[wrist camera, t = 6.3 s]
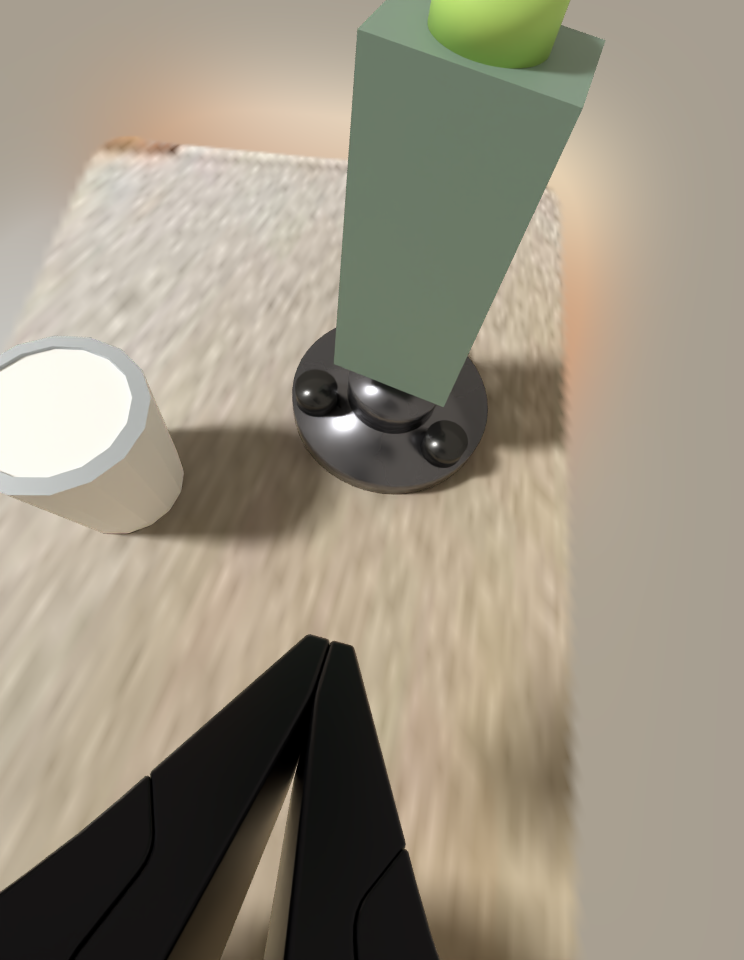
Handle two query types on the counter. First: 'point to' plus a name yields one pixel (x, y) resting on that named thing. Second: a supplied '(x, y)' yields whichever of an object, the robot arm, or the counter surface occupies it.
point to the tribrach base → (384, 425)
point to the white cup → (84, 435)
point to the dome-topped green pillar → (447, 173)
